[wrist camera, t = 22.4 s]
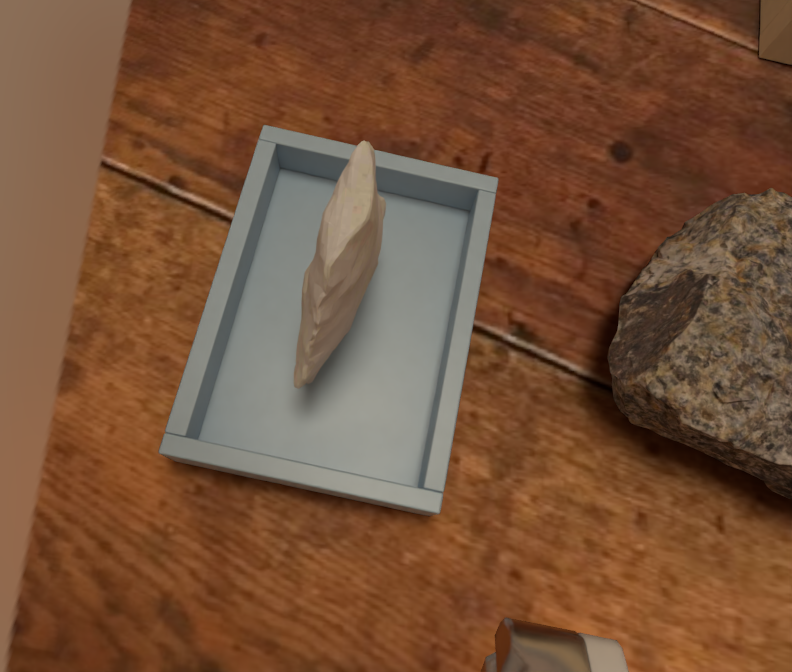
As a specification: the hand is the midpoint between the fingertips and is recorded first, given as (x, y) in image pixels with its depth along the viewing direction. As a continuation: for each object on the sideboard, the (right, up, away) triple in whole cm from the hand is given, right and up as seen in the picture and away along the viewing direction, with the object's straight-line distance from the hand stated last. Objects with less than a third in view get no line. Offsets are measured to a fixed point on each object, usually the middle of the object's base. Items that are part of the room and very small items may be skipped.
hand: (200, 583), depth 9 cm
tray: (0, +4, +19) cm, 20 cm away
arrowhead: (0, +4, +19) cm, 19 cm away
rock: (+19, +2, +21) cm, 28 cm away
